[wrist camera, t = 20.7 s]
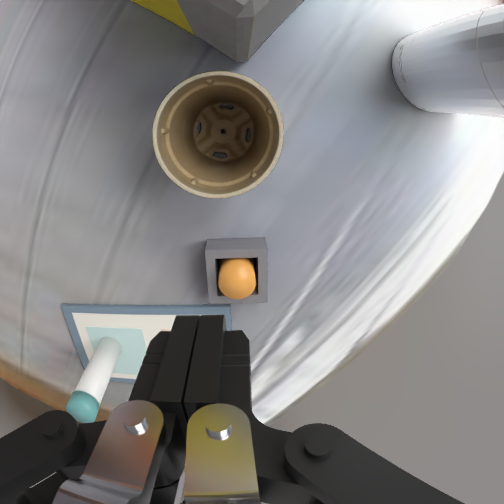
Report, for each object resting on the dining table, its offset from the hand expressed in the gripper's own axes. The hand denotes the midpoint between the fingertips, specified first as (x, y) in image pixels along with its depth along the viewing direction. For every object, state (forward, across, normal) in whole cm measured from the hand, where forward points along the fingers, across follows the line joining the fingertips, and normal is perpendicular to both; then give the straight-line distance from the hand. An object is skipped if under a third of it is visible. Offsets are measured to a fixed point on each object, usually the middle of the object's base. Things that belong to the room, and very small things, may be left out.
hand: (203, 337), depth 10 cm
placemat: (+23, +12, +20) cm, 33 cm away
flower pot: (+24, +1, -6) cm, 24 cm away
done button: (+23, 0, +8) cm, 25 cm away
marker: (+22, +17, +19) cm, 34 cm away
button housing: (+24, 0, +8) cm, 25 cm away
